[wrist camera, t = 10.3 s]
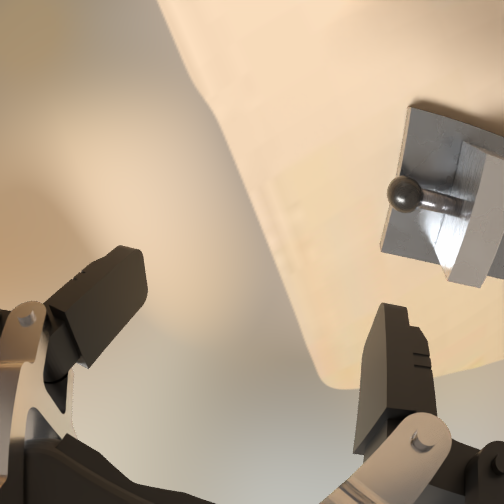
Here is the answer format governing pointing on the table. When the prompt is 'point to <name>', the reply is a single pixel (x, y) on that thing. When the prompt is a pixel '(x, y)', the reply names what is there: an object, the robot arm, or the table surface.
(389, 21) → the table surface
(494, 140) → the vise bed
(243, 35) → the table surface
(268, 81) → the table surface
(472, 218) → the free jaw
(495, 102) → the table surface
